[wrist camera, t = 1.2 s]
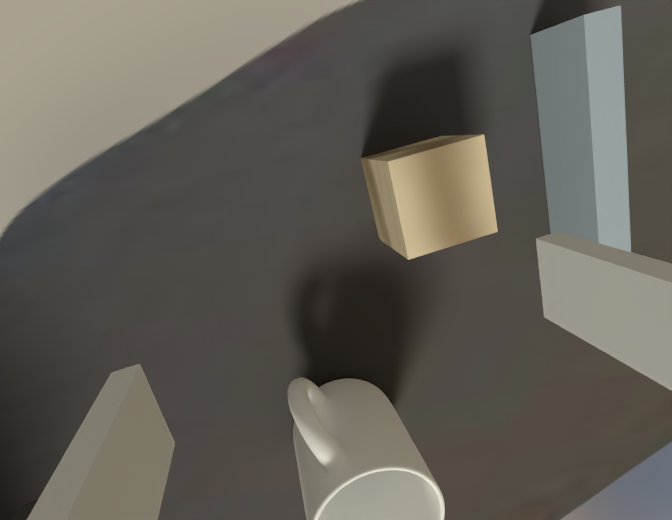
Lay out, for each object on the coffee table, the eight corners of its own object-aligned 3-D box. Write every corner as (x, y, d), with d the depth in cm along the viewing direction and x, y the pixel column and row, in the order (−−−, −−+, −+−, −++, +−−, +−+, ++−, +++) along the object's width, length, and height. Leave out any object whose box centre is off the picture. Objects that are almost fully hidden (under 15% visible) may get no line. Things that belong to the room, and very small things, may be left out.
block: (378, 238, 32) (408, 259, 26) (360, 158, 30) (387, 161, 24) (453, 216, 33) (497, 231, 27) (439, 136, 31) (484, 134, 25)
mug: (241, 383, 32) (239, 487, 23) (330, 320, 33) (368, 395, 23) (328, 480, 36) (359, 604, 27) (408, 423, 37) (468, 525, 27)
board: (552, 248, 35) (600, 265, 30) (530, 35, 30) (583, 14, 25) (579, 239, 35) (631, 254, 30) (562, 26, 30) (620, 5, 26)
